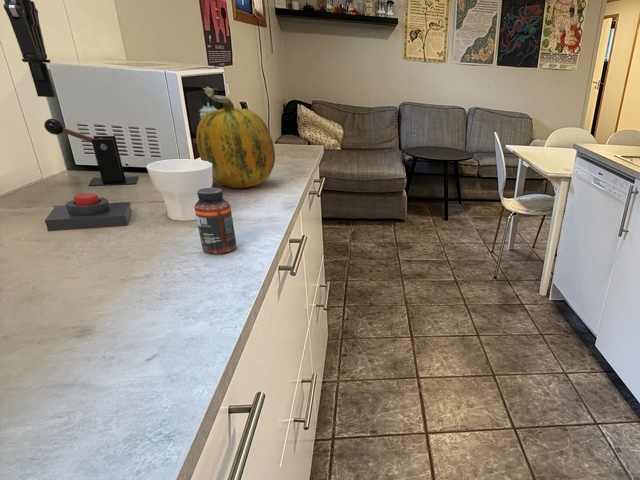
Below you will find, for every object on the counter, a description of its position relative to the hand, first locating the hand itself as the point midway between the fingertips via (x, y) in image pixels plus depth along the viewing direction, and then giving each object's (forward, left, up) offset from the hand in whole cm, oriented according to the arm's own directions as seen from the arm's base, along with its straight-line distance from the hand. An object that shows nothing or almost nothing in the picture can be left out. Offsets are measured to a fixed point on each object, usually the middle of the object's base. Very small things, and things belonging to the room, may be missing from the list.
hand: (46, 96), depth 102 cm
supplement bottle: (+46, -26, -22) cm, 57 cm away
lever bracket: (+2, +11, -22) cm, 25 cm away
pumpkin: (+31, +20, -22) cm, 43 cm away
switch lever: (-3, +9, -11) cm, 14 cm away
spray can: (+20, +30, -22) cm, 42 cm away
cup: (+31, -8, -22) cm, 39 cm away
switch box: (+15, -16, -22) cm, 31 cm away
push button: (+15, -16, -18) cm, 28 cm away
